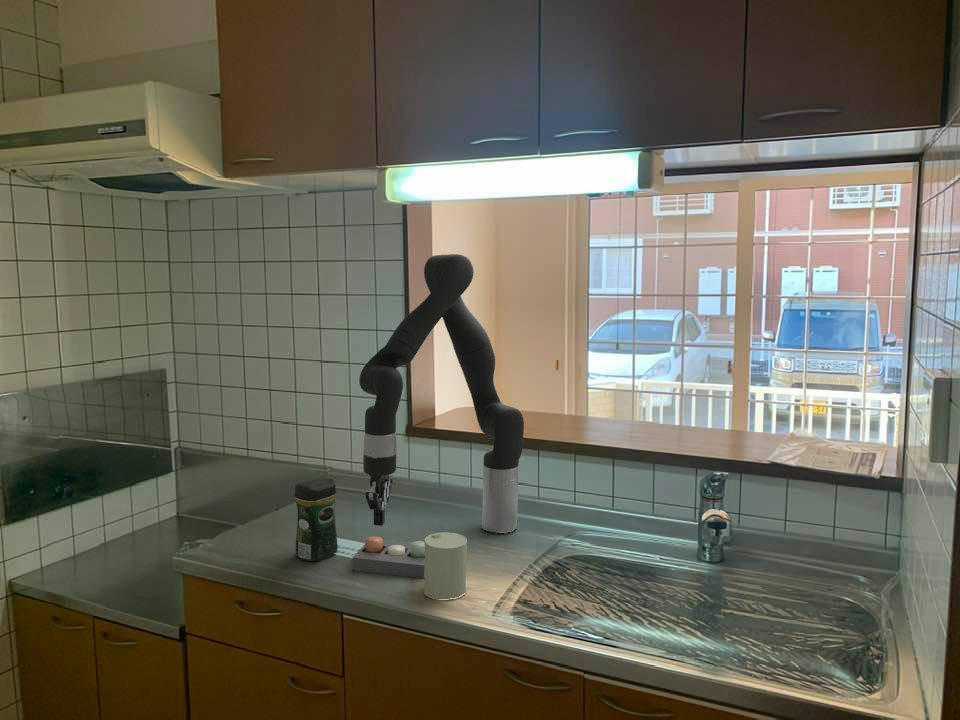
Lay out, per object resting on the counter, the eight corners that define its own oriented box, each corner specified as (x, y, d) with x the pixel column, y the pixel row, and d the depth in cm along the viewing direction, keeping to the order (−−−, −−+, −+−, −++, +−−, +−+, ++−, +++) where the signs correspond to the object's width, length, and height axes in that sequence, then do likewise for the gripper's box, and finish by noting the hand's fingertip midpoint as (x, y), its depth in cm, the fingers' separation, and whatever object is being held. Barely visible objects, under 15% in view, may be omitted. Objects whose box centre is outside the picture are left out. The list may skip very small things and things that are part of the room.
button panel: (370, 550, 180) (370, 538, 179) (438, 557, 176) (438, 545, 176) (352, 570, 168) (352, 557, 168) (424, 578, 165) (424, 565, 164)
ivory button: (390, 556, 174) (391, 544, 174) (407, 558, 174) (407, 545, 173) (385, 563, 171) (385, 550, 170) (401, 564, 170) (401, 552, 169)
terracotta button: (368, 547, 175) (368, 535, 175) (384, 549, 175) (384, 537, 174) (362, 554, 172) (362, 541, 171) (379, 555, 171) (379, 543, 170)
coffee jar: (320, 544, 183) (320, 471, 180) (342, 552, 178) (342, 478, 175) (289, 556, 175) (288, 480, 172) (311, 565, 170) (310, 487, 168)
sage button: (413, 552, 173) (413, 540, 173) (429, 554, 172) (429, 541, 172) (408, 559, 169) (408, 546, 169) (424, 560, 168) (425, 548, 168)
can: (443, 578, 165) (444, 526, 163) (475, 590, 159) (476, 537, 158) (414, 591, 158) (415, 538, 156) (446, 605, 152) (447, 549, 151)
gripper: (373, 443, 176) (373, 513, 178) (354, 457, 163) (353, 533, 165) (404, 446, 175) (402, 516, 177) (386, 460, 162) (385, 536, 164)
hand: (379, 524), depth 171 cm, fingers closed
